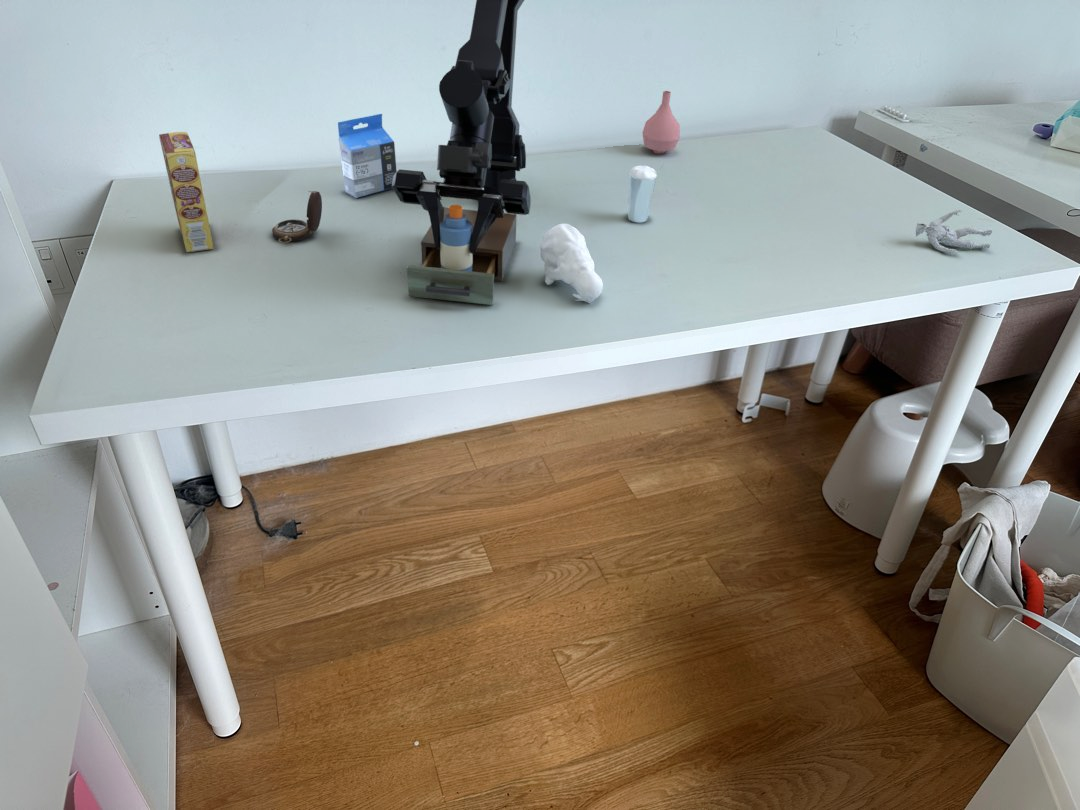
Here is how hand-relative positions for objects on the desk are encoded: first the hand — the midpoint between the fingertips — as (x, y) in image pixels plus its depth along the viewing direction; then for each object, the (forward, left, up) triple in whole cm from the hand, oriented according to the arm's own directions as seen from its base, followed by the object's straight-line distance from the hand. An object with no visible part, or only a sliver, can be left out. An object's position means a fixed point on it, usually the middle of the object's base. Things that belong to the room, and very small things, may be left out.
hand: (454, 250), depth 109 cm
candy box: (-36, -24, -7) cm, 44 cm away
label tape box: (-40, +8, -7) cm, 41 cm away
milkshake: (-5, +41, -7) cm, 41 cm away
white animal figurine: (+9, +15, -7) cm, 18 cm away
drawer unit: (-8, +8, -7) cm, 13 cm away
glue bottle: (-1, +1, -5) cm, 5 cm away
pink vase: (-28, +68, -7) cm, 73 cm away
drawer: (-2, +2, -6) cm, 7 cm away
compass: (-29, -11, -7) cm, 32 cm away
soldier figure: (+31, +79, -7) cm, 85 cm away
